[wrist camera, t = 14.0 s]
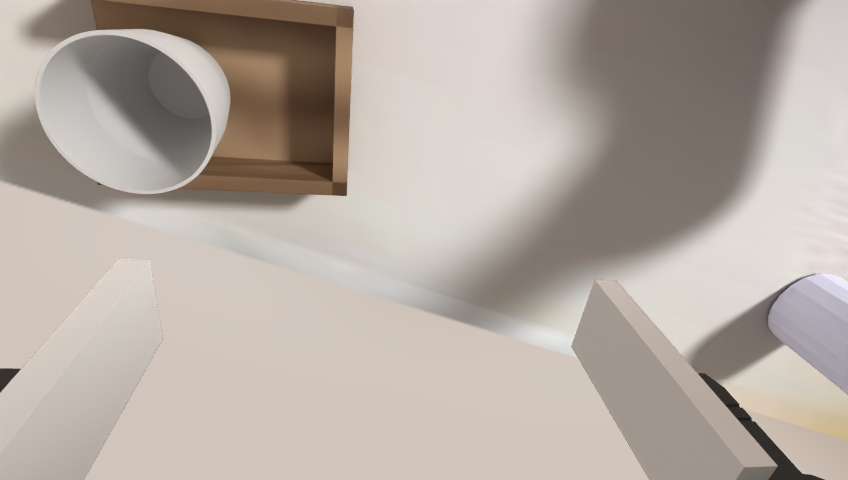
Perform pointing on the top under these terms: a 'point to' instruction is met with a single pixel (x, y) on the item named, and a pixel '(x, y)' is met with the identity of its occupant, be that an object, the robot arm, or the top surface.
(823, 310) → the soap bottle
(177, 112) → the cup
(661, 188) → the top surface
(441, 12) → the top surface
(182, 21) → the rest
